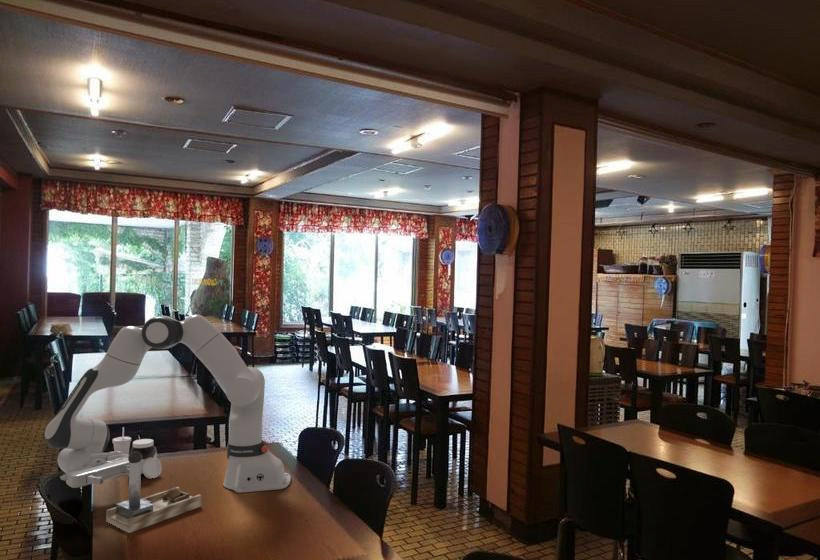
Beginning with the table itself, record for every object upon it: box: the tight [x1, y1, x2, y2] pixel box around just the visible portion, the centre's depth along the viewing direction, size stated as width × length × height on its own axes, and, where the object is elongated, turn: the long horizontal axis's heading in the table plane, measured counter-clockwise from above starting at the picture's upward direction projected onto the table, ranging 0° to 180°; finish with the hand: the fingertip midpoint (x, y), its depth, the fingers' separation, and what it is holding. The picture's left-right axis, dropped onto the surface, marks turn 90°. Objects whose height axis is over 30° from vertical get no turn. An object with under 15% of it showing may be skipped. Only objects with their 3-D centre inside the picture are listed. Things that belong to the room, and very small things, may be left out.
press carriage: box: [115, 451, 153, 519], centre depth 168 cm, size 7×9×18 cm
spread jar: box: [129, 438, 163, 480], centre depth 206 cm, size 12×11×12 cm
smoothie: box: [112, 426, 132, 455], centre depth 216 cm, size 6×6×14 cm
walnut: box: [167, 487, 181, 501], centre depth 178 cm, size 4×4×4 cm
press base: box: [105, 486, 202, 534], centre depth 173 cm, size 23×12×4 cm, turn 146°
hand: (116, 476), depth 173 cm, fingers open, 8 cm apart
